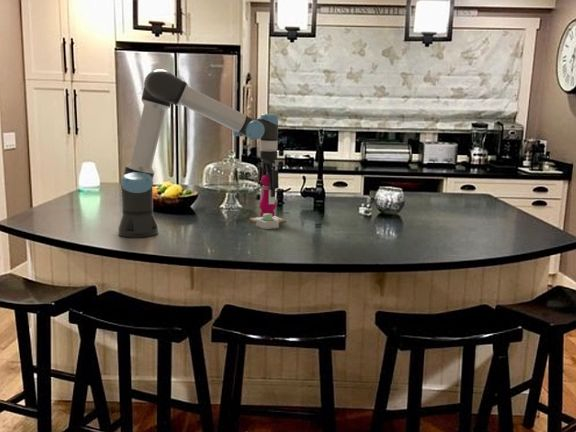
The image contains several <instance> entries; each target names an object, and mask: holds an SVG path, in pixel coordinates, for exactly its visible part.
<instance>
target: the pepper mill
mask: <svg viewBox="0 0 576 432" xmlns="http://www.w3.org/2000/svg"><path fill="white" fill-rule="evenodd" d="M260 182H262V184H263V197H262V199H261V198H260V202H259V209H260V211H259V212H260V214H259V215H260V217H263V214H265V213H270V214H272V217H273V216H275V210H276V206H277V204H276V203H275V204H269V188H270V184H269V177H268V174H267V172H266V175H264V176H263V177H262V179H261V181H260Z"/></svg>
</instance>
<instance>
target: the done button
mask: <svg viewBox="0 0 576 432" xmlns="http://www.w3.org/2000/svg"><path fill="white" fill-rule="evenodd" d="M263 221H265V222H266V221H272V214H270V213H265V214H263Z"/></svg>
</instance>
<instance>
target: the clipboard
mask: <svg viewBox="0 0 576 432" xmlns="http://www.w3.org/2000/svg"><path fill="white" fill-rule="evenodd" d="M261 218H263V217H262V216H259V217H257V216H256V217H250V218H248V220H249V221H250V222H253V223H255V224H256V219H261ZM272 218H273V219H276V220H278V221H279V224H280V223H286V222H287V221H286V219H284V218H281V217H278V216H276V215H274V216H273V217H272Z"/></svg>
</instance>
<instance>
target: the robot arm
mask: <svg viewBox="0 0 576 432" xmlns="http://www.w3.org/2000/svg"><path fill="white" fill-rule="evenodd" d="M143 83H144V84H143V85H144V86H143V90H142V94H141V102H142V103H143V108H142V112H141V117H140V121H139V124H138V125H139V126H138V129H137V130H138V131H137V134H136V139H135V142H134V147H133V151H132V156H131V160H130V162H129V163H128V164H126V165H125V169H124V173H123V175H122V177H121V182H120V188H121V206H122V211H121V212H122V217H121V219H120V223H119V226H118V236H119V237H120V236H121V237H122V238H132V239H137V238H138V239H141V238H150V237H153V236H156V235H158V234H159V227H158V224H157V222H156V218H155V215H154V199H153V198H154V196H153V195H154V194H153V193H154V192H153V189H154V188H153V187H154V182H153V180H154V176H155V171H154V169H153V163H154V160H155V156H156V155H155V154H156V150H157V147H158V142H159V139H160V135H161V131H162V126H163V123H164V117H165V113H166V111H167V110H168V109H170V108H171V105H172V104H173V105H175V106H183V107H185V108H187V109H189V110H191V111H193V112H195V113H197V114H199V115H201V116H203V117H206V118H207V119H210V120H211V121H214V122H215V123H218V124H220V125H222V126H224V127H226V128H228V129H231V130H232V133H233V136H235V137H246V138H249V139H250V140H259V139H260V140H259V142H260V143H259V149H260V151H259V159H260V160H262V161H260V162H258V173H257V175H258V176H257V177H258V178H257V185H259V186H260V200H261V199H262V197H263V184H262V182H261V179H262V177H263V176H264V175H266V172H267V174H268V177H269V184H270V188H269V204H276V201H275V200H276V190H277V189H279V185H280V184H279V169H280V165H276V161H277V159H278V151H277V150H278V145H279V143H278V138H279V137H278V136H279V115H277V114H275V113H261V114H260V118H252V117H250V116H248V115H246V114H244V113H242V112H240V111H238V110H236V109H235V108H232V107H230V106H228V105H227V104H224V103H222V102H220V101H218V100H217V99H215V98H212V97H210V96H209V95H207V94H204V93H202V92H200V91H198V90H196V89H194V88H192V87H190V86H189V84H188V82H186V81H184V80H183V79H181V78H179V77H177V76H176V75H174V74H173V73H172V72H170V71H169V70H166V69H155V70H152V71H151V72H149V73H148V74H147V75H146V77H145V78H144V82H143ZM275 160H276V161H275Z"/></svg>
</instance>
